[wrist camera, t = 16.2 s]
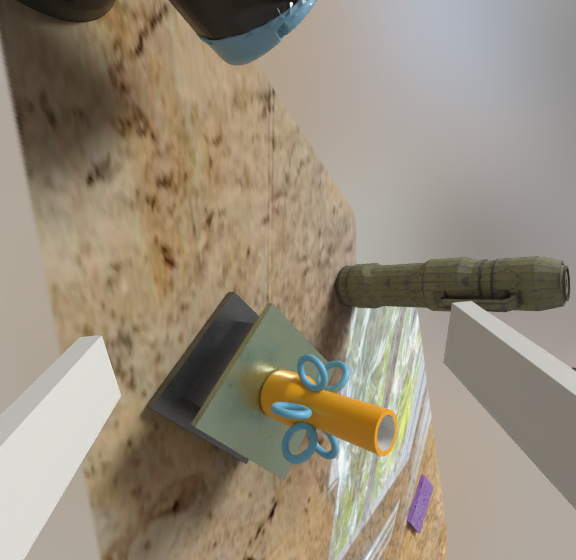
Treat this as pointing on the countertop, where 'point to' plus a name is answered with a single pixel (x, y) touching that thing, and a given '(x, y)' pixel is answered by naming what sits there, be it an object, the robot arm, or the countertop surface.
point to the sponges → (420, 504)
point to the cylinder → (325, 412)
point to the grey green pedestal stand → (237, 382)
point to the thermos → (458, 284)
